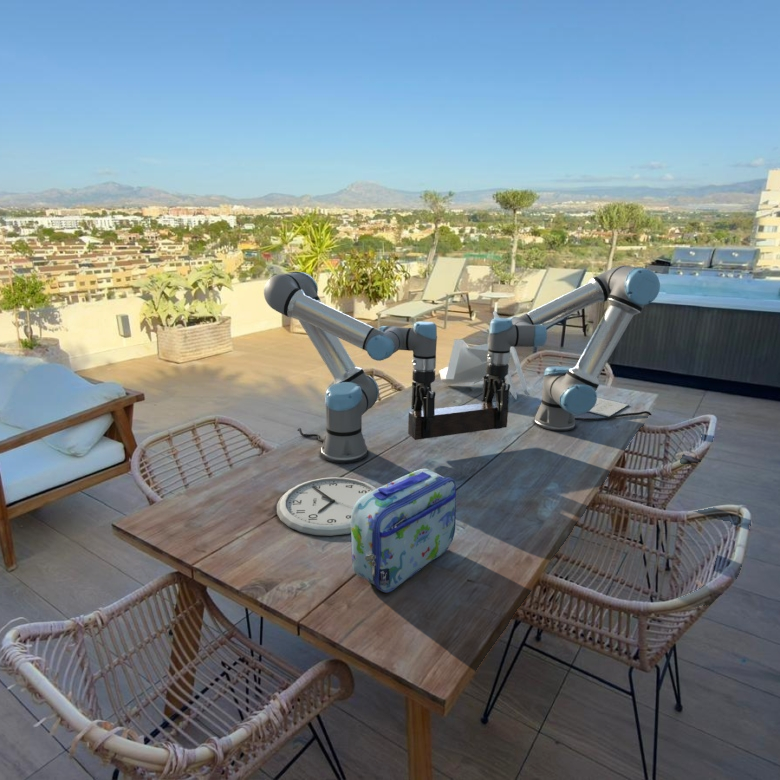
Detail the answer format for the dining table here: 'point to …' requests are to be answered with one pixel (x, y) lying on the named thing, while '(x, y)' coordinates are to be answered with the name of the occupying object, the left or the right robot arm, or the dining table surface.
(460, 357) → the white plastic object
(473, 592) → the dining table surface
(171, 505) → the dining table surface
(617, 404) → the invitation card
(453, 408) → the walnut beam
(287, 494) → the wall clock
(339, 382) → the left robot arm
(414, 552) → the lunch box
